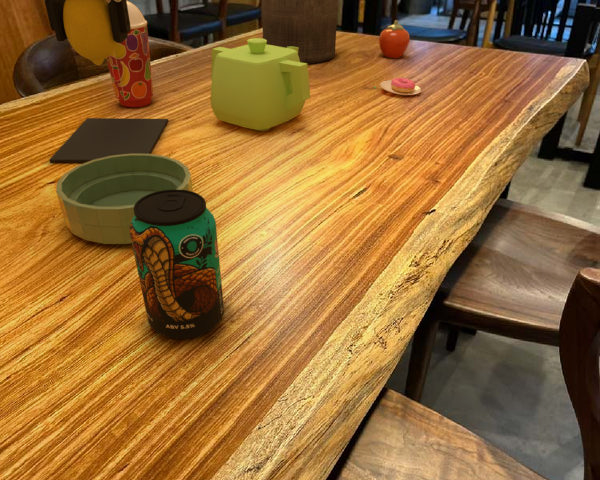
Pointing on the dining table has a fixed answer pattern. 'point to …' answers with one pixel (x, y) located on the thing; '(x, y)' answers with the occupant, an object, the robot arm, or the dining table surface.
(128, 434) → the dining table surface
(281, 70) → the teapot
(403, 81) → the donut
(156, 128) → the mat
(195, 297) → the beverage can
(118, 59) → the smoothie
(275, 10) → the planter
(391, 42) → the tomato
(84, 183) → the bowl
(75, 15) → the lemon
